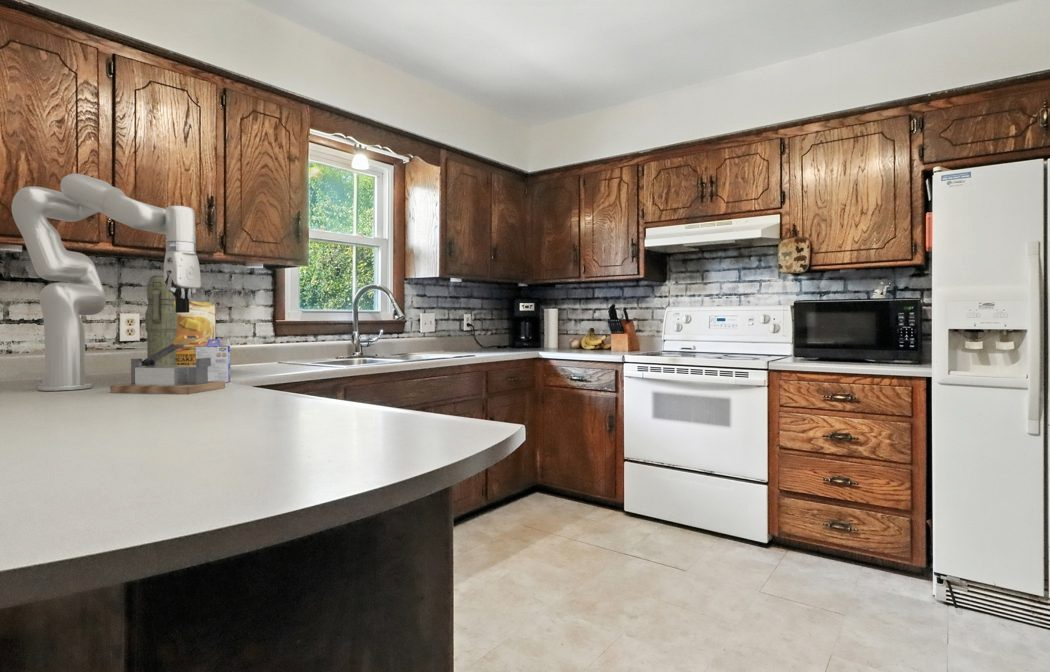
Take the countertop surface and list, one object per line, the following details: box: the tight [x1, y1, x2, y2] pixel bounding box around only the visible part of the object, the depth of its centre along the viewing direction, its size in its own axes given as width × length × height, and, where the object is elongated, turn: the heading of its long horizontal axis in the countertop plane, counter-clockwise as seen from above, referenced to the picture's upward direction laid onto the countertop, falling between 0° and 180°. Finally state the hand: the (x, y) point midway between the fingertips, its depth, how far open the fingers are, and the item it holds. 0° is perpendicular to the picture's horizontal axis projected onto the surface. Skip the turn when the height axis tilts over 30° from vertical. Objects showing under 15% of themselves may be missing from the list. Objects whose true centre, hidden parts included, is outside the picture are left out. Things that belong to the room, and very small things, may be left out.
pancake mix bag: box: [174, 300, 217, 365], centre depth 206 cm, size 7×19×28 cm, turn 118°
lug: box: [188, 358, 211, 385], centre depth 171 cm, size 3×5×8 cm
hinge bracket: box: [130, 357, 158, 384], centre depth 173 cm, size 2×7×7 cm, turn 173°
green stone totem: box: [144, 275, 177, 367], centre depth 191 cm, size 9×12×35 cm
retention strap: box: [142, 335, 199, 367], centre depth 172 cm, size 18×6×1 cm, turn 82°
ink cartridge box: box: [196, 338, 232, 383], centre depth 196 cm, size 10×6×14 cm, turn 110°
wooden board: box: [109, 381, 226, 395], centre depth 172 cm, size 24×16×2 cm, turn 83°
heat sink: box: [135, 365, 196, 386], centre depth 172 cm, size 12×12×5 cm
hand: (182, 312), depth 171 cm, fingers closed
